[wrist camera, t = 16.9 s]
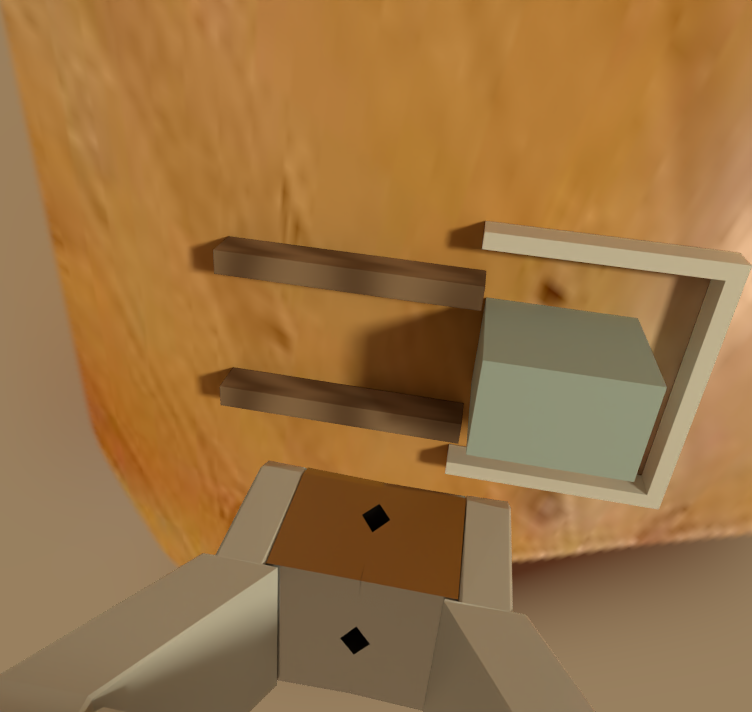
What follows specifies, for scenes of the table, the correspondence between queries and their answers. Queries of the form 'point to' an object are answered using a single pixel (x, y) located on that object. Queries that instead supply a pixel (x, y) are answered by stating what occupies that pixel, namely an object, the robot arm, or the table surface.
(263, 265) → the chute
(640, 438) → the block
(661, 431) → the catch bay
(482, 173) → the table surface
